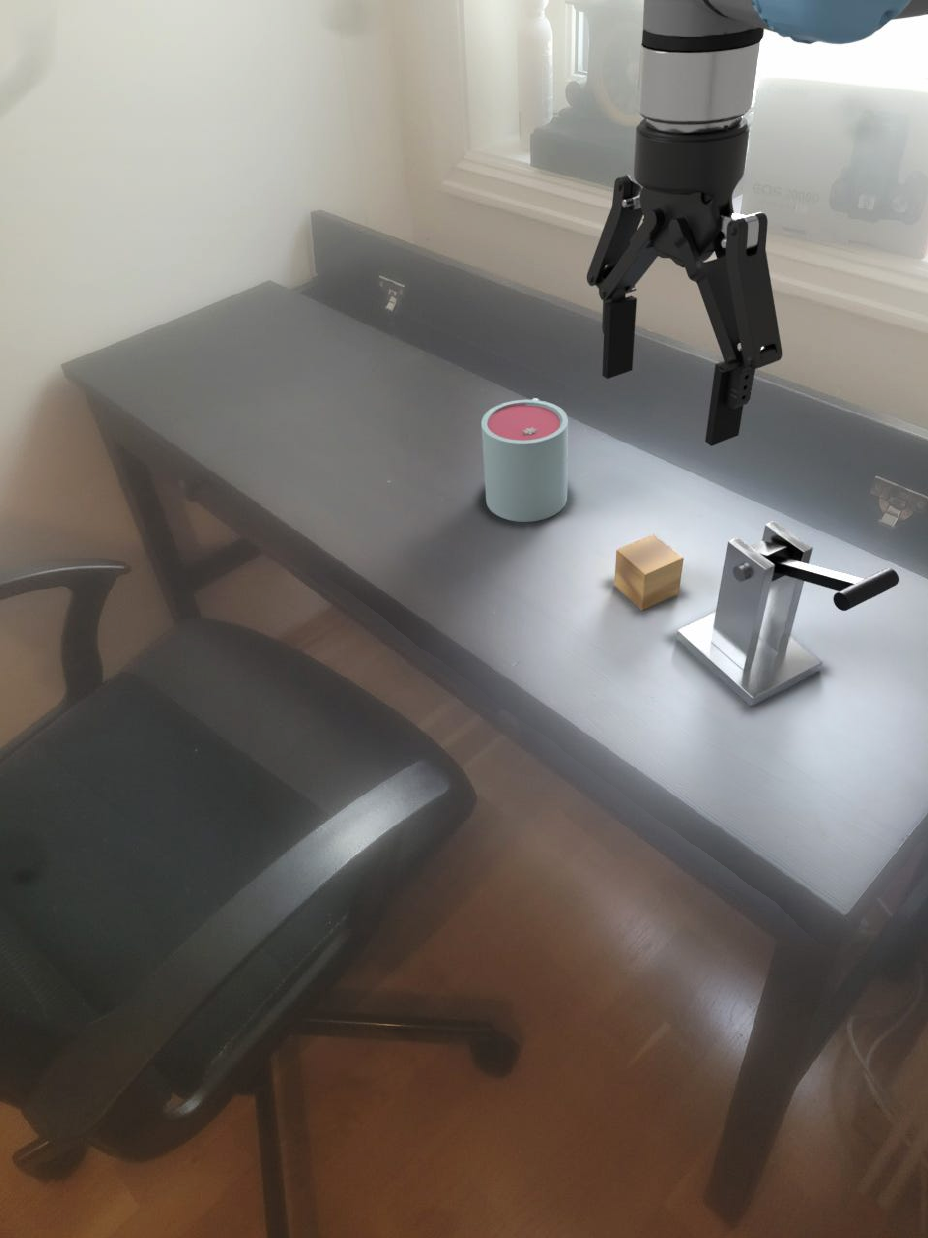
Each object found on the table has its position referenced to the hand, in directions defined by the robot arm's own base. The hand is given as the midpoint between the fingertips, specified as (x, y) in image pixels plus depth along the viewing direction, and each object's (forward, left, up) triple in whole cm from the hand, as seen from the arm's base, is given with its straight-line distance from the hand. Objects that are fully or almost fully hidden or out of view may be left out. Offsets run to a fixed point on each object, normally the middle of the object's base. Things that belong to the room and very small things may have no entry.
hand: (666, 404), depth 72 cm
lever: (-17, -2, -9) cm, 19 cm away
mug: (+22, 0, -21) cm, 30 cm away
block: (0, 0, -21) cm, 21 cm away
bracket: (-12, -2, -21) cm, 24 cm away
